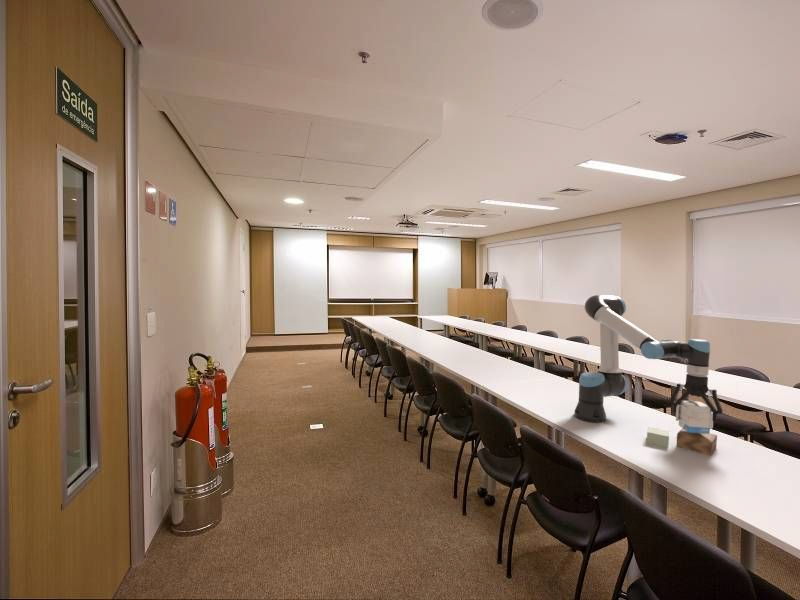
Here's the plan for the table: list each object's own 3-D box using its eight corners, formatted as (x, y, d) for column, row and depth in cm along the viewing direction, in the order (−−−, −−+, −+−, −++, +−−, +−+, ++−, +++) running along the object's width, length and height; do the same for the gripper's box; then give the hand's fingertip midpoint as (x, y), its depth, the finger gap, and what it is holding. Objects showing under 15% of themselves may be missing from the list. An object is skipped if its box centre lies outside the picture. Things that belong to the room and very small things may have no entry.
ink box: (710, 434, 163) (712, 403, 163) (687, 432, 165) (690, 401, 164) (698, 427, 172) (700, 397, 171) (677, 425, 174) (679, 396, 173)
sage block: (646, 443, 172) (647, 432, 171) (647, 437, 178) (648, 426, 178) (668, 447, 167) (668, 436, 167) (668, 441, 174) (669, 431, 173)
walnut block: (676, 446, 169) (677, 433, 168) (682, 439, 177) (683, 426, 176) (711, 456, 160) (711, 442, 159) (716, 448, 168) (717, 435, 167)
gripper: (662, 370, 173) (659, 418, 174) (731, 381, 156) (727, 434, 157) (666, 368, 178) (664, 414, 180) (733, 379, 161) (730, 429, 162)
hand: (693, 423), depth 168 cm, fingers closed on ink box, 11 cm apart
